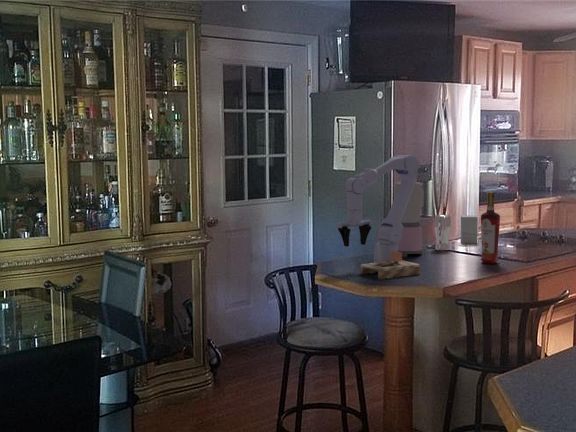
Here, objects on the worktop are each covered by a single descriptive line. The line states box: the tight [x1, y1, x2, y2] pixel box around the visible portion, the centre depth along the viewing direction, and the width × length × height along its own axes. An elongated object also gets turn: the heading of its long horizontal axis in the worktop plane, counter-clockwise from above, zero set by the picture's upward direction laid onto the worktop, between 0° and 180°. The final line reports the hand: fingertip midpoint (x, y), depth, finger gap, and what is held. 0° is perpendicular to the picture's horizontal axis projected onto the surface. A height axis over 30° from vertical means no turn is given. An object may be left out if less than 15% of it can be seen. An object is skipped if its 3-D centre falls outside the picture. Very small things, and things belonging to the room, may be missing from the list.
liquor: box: [480, 191, 501, 265], centre depth 277 cm, size 7×7×28 cm
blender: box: [394, 181, 426, 258], centre depth 301 cm, size 16×12×32 cm
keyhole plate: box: [360, 259, 421, 280], centre depth 260 cm, size 18×12×4 cm, turn 119°
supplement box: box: [460, 214, 479, 244], centre depth 332 cm, size 7×7×13 cm
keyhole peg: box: [390, 251, 403, 265], centre depth 261 cm, size 4×4×8 cm
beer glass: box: [434, 214, 452, 251], centre depth 313 cm, size 7×7×15 cm
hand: (354, 245), depth 268 cm, fingers open, 7 cm apart
